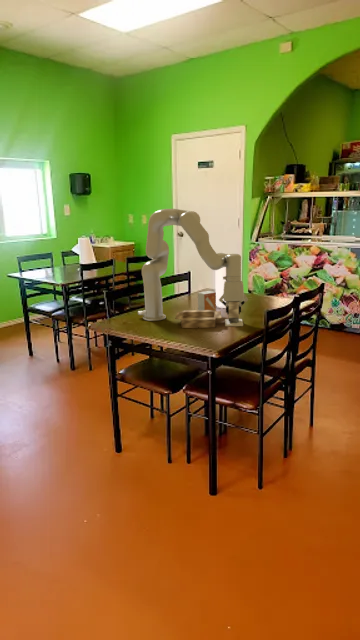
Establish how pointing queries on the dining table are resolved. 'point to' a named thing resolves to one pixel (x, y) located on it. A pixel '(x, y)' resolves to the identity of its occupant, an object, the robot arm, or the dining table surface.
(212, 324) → the brown wooden tray
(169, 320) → the dining table surface
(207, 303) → the small box
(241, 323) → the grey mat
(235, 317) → the block
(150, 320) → the robot arm
